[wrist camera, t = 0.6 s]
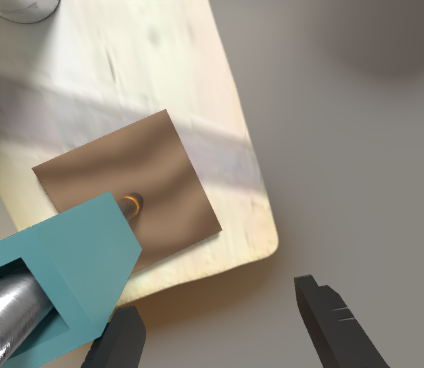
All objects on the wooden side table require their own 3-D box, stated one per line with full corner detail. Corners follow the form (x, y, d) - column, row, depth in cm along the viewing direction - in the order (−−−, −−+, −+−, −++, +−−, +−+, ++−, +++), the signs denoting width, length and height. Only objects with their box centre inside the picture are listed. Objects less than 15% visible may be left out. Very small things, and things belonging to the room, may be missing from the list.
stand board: (40, 167, 27) (31, 168, 25) (166, 111, 28) (165, 108, 26) (108, 280, 30) (104, 286, 29) (220, 226, 31) (222, 230, 29)
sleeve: (43, 220, 15) (-110, 290, 7) (109, 190, 15) (29, 227, 8) (80, 278, 16) (-21, 396, 8) (142, 249, 16) (100, 336, 8)
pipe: (120, 196, 27) (-326, 474, 4) (138, 188, 27) (-175, 402, 4) (129, 214, 28) (-210, 562, 4) (147, 205, 28) (-78, 495, 4)
